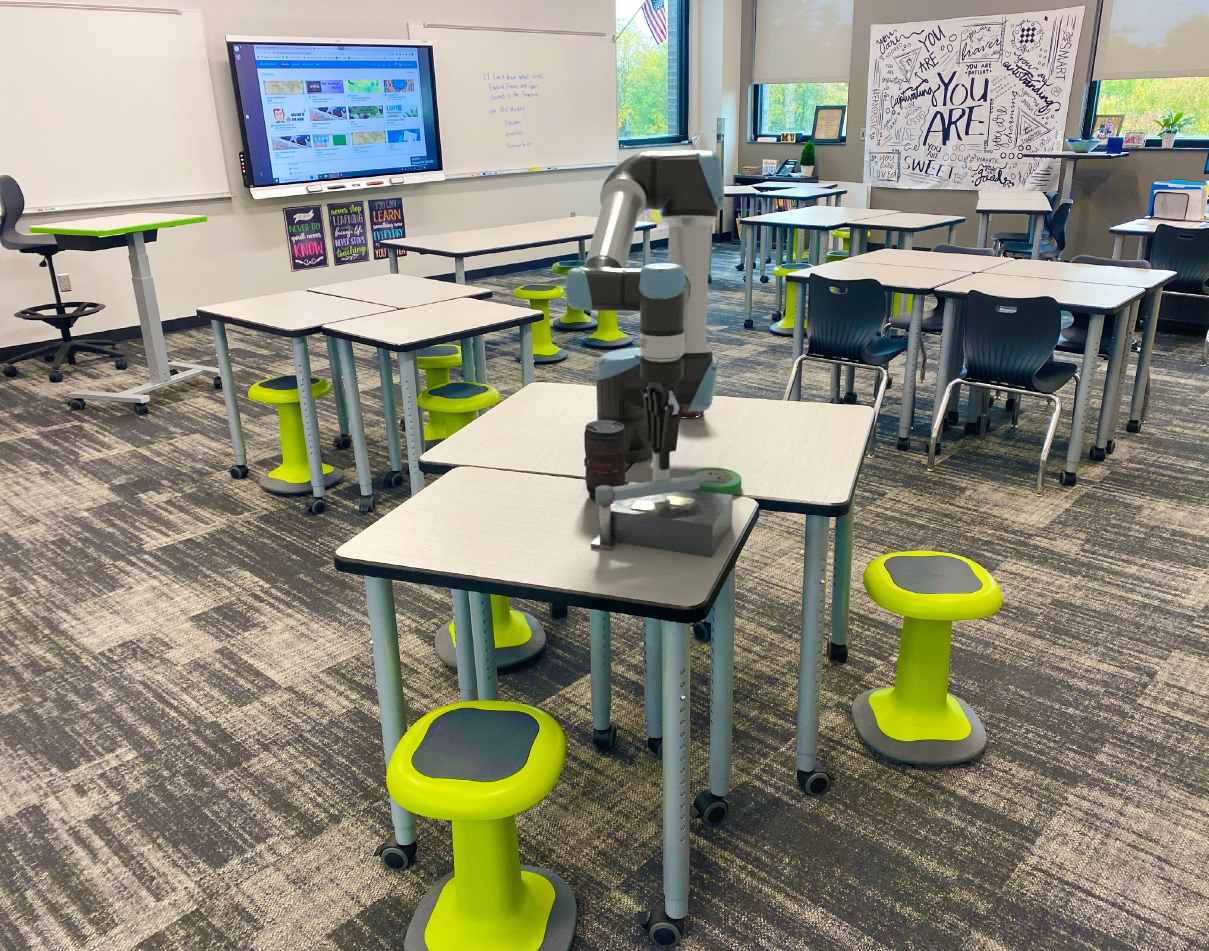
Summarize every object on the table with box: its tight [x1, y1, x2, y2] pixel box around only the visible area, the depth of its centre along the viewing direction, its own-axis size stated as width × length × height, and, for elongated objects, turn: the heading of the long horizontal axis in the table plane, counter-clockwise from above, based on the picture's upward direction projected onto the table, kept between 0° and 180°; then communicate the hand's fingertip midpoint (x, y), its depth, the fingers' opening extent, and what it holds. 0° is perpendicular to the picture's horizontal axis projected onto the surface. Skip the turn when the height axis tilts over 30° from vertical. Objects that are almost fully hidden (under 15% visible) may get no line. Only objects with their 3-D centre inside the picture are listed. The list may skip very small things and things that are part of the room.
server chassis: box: [590, 481, 734, 558], centre depth 159 cm, size 21×18×8 cm
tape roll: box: [686, 467, 742, 496], centre depth 181 cm, size 11×11×3 cm
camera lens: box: [583, 420, 626, 502], centre depth 175 cm, size 8×8×15 cm
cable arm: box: [595, 475, 700, 506], centre depth 156 cm, size 19×3×2 cm, turn 108°
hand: (661, 483), depth 161 cm, fingers closed
